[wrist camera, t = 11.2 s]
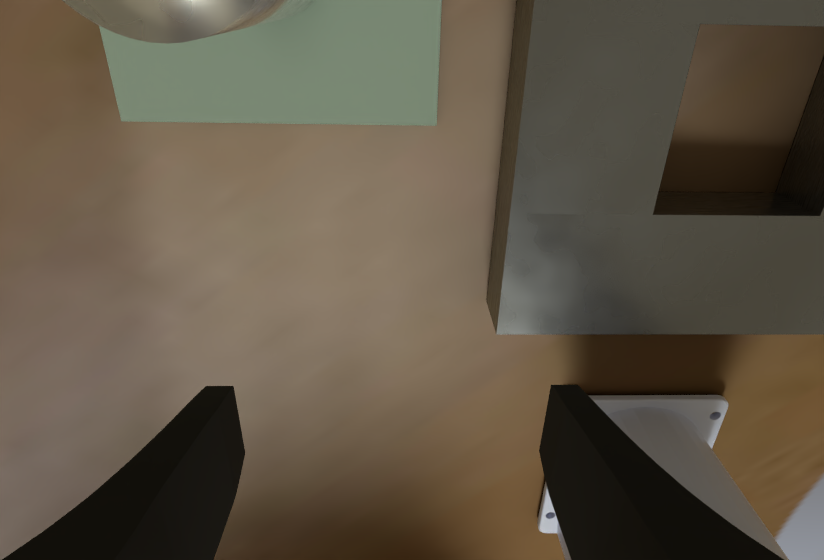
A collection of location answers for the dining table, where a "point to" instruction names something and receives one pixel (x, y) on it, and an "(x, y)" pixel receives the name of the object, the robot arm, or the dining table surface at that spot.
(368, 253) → the dining table surface
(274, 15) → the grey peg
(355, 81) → the mat
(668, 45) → the socket block
